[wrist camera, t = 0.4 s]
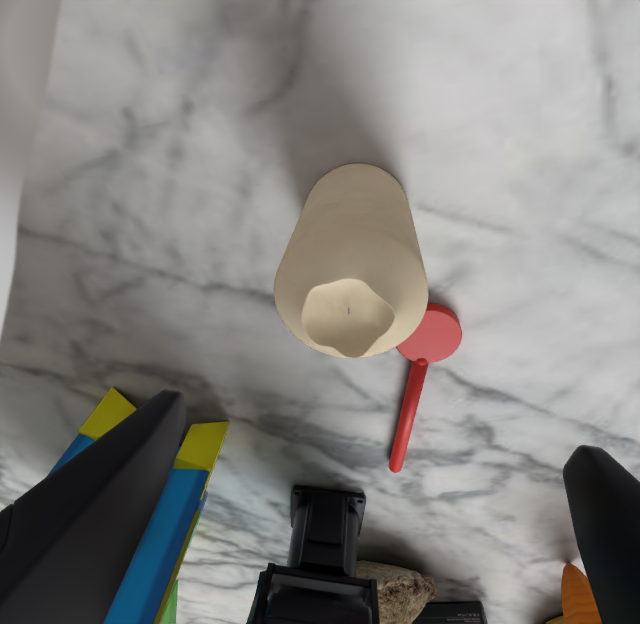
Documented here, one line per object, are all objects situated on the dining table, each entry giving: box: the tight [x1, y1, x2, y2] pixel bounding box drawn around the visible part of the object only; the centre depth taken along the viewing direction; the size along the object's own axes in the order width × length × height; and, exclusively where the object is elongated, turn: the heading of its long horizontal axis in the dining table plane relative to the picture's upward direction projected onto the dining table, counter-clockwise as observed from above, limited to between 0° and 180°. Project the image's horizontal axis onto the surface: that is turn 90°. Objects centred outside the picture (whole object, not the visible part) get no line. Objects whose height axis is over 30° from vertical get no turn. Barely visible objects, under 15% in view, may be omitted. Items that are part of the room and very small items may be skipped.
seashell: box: [356, 560, 437, 624], centre depth 40 cm, size 11×7×10 cm
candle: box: [274, 163, 429, 358], centre depth 17 cm, size 6×6×10 cm
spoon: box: [389, 303, 462, 473], centre depth 28 cm, size 16×4×1 cm, turn 177°
